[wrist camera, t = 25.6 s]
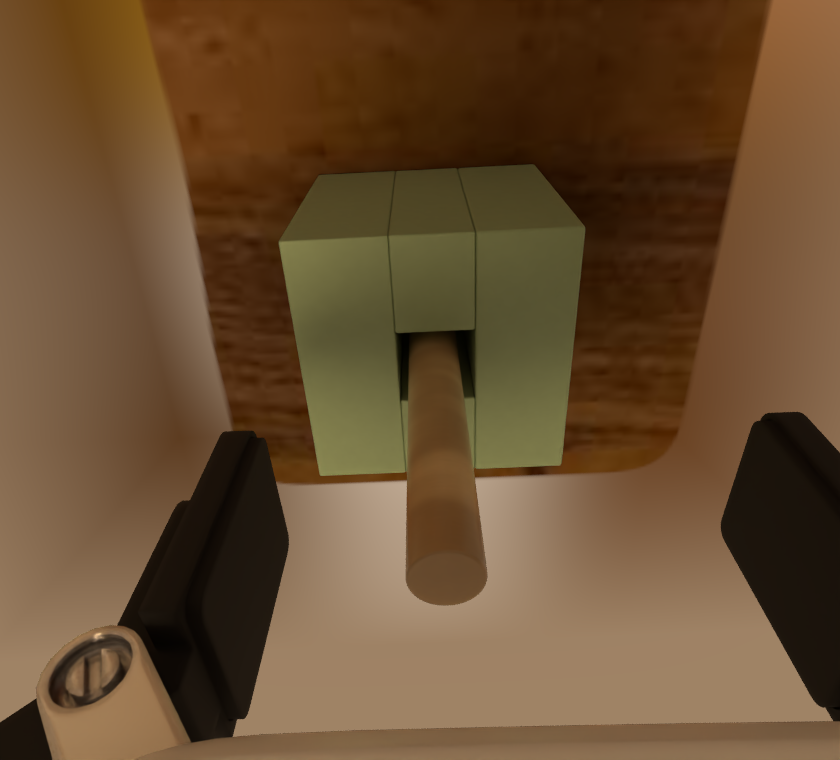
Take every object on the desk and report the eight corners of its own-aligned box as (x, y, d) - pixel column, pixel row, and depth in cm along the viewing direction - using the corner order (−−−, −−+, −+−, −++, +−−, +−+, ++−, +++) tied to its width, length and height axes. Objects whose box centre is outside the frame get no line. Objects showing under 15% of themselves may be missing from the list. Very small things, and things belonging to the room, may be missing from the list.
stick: (447, 255, 25) (488, 549, 11) (447, 291, 25) (486, 605, 12) (409, 257, 25) (403, 553, 11) (411, 292, 26) (408, 608, 12)
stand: (534, 163, 23) (586, 226, 16) (524, 353, 27) (561, 466, 20) (318, 174, 23) (277, 241, 16) (343, 361, 27) (319, 476, 20)
